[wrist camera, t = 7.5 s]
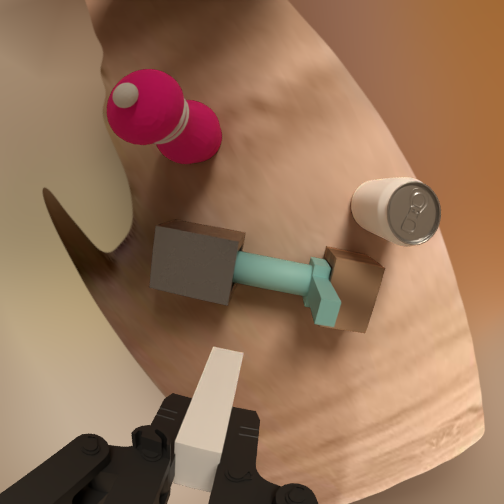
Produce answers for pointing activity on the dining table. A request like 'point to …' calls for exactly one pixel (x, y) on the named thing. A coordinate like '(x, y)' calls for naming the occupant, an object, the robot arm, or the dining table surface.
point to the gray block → (195, 260)
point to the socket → (354, 287)
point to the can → (397, 210)
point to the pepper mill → (163, 117)
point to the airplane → (292, 282)
